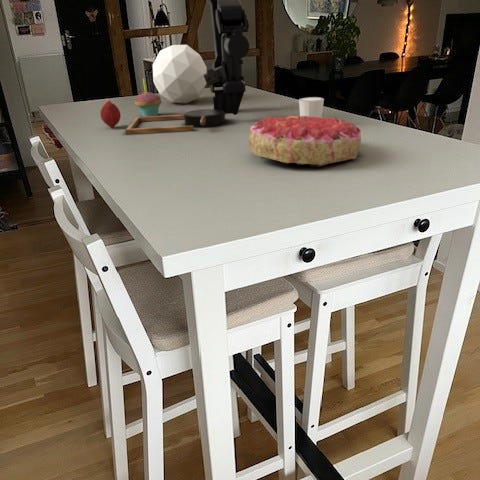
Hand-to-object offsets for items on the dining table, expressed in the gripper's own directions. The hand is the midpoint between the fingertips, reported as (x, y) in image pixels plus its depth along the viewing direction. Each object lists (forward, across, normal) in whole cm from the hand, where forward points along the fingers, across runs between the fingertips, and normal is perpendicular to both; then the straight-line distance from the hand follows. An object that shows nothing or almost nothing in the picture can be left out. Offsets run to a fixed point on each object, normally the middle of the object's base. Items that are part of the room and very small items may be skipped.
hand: (235, 114), depth 154 cm
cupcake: (+2, -18, -28) cm, 33 cm away
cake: (+2, +44, +15) cm, 47 cm away
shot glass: (+2, +12, +21) cm, 24 cm away
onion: (+2, -1, -37) cm, 37 cm away
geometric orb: (+2, -42, -19) cm, 46 cm away
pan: (+2, +4, -9) cm, 10 cm away
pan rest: (+2, 0, -22) cm, 22 cm away
